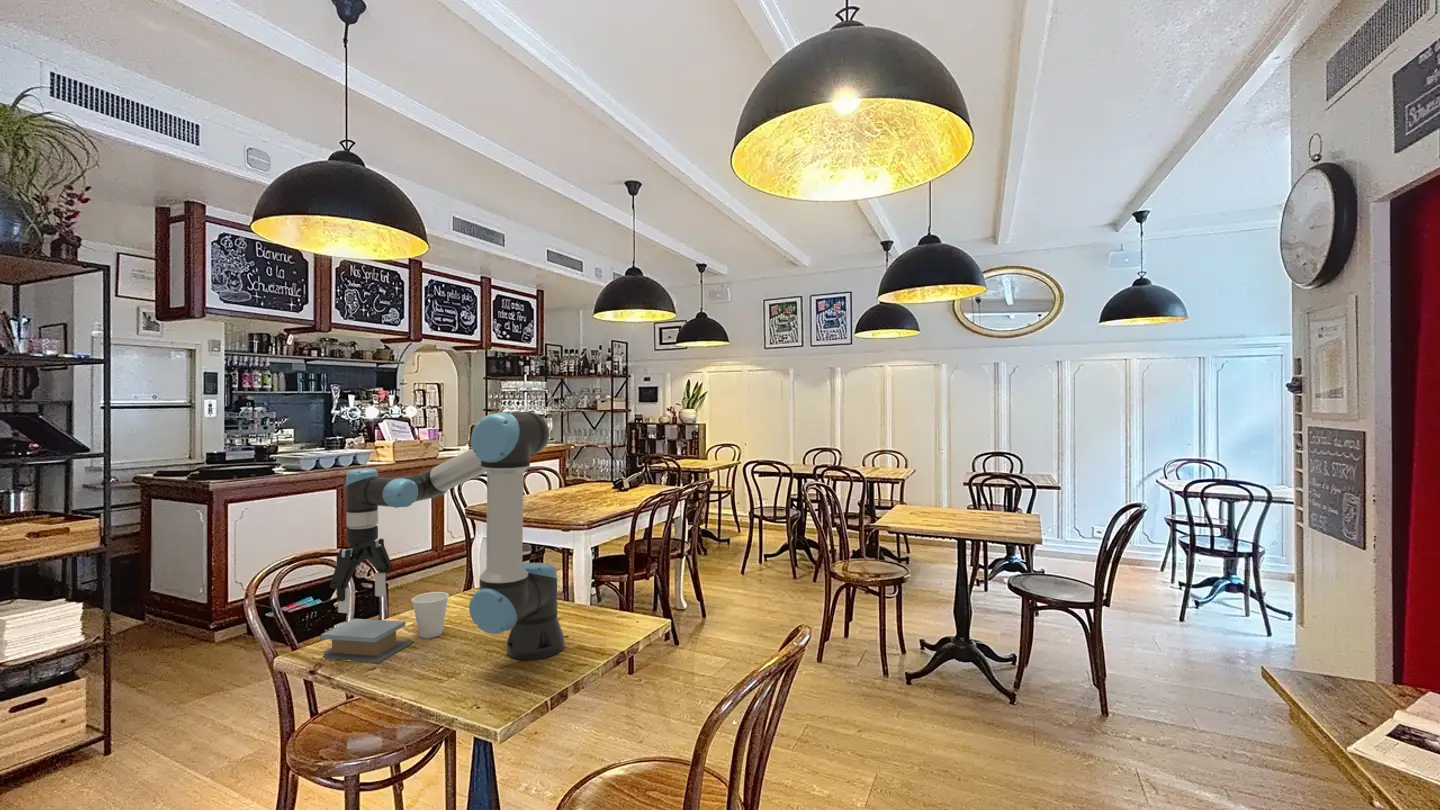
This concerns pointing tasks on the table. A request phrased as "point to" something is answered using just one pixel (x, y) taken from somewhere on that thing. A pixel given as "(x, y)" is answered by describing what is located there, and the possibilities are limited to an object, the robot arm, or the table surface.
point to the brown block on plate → (366, 649)
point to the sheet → (363, 630)
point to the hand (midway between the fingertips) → (362, 604)
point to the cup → (430, 613)
